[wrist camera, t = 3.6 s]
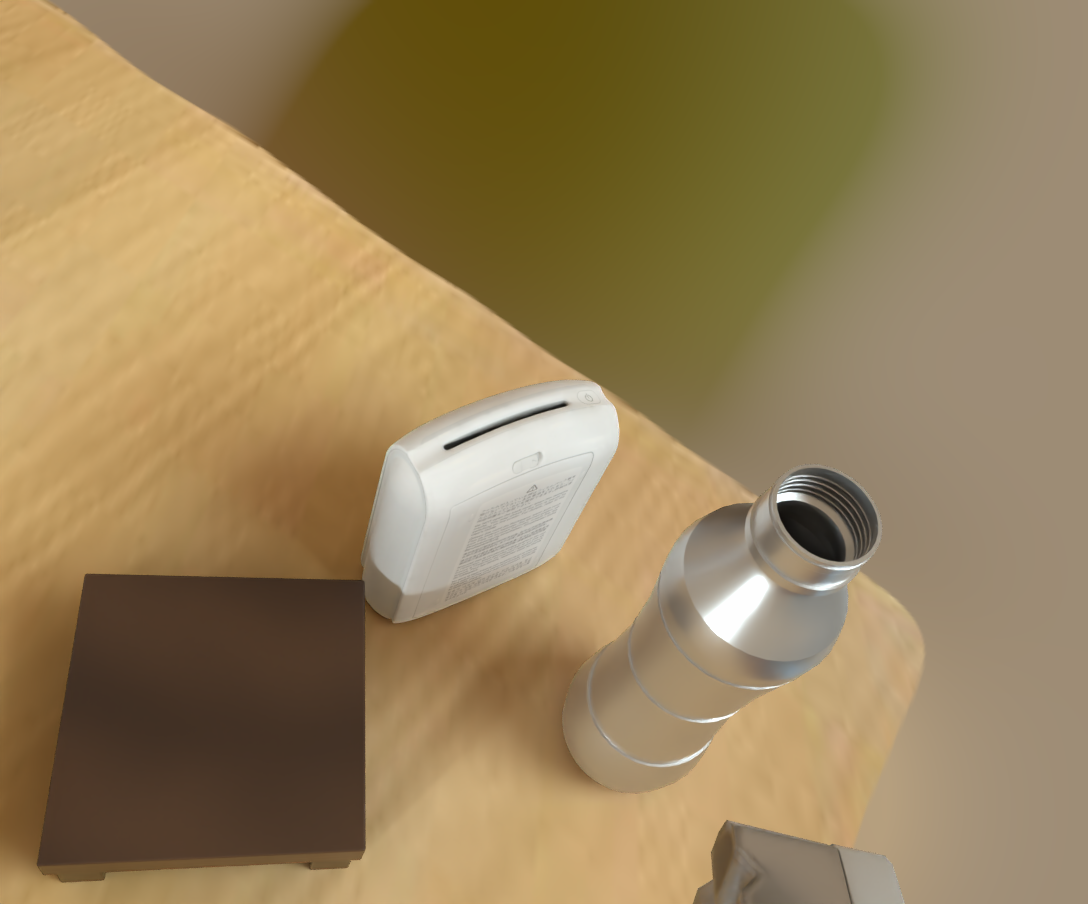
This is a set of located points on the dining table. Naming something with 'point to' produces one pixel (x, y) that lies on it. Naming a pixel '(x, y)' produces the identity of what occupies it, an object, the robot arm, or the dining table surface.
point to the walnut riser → (210, 727)
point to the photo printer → (484, 495)
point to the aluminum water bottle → (722, 628)
